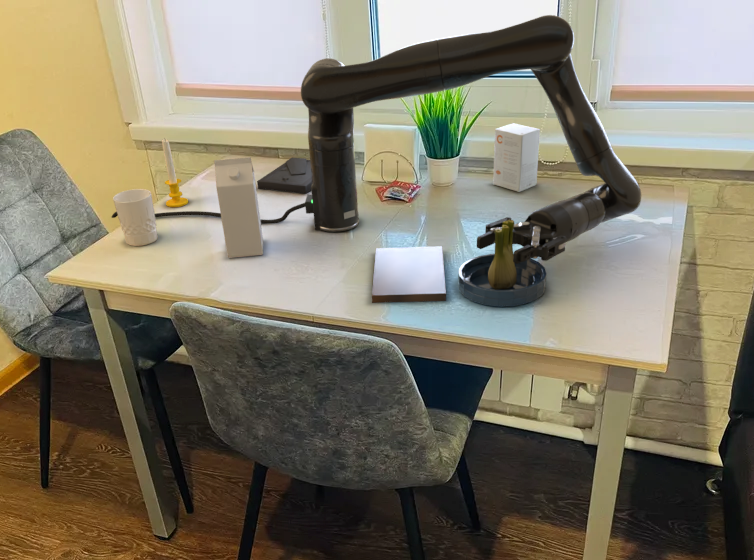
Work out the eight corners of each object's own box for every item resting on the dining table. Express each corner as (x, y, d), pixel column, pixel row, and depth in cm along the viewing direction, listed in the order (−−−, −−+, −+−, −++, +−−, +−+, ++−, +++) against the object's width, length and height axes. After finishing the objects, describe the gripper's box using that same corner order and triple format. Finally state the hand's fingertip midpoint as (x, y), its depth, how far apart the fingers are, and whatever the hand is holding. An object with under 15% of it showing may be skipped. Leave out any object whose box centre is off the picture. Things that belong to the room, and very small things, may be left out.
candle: (192, 201, 187) (180, 135, 178) (177, 208, 183) (164, 142, 174) (176, 198, 189) (164, 133, 180) (161, 205, 186) (148, 139, 177)
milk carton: (229, 244, 164) (215, 154, 153) (263, 241, 164) (251, 151, 153) (227, 258, 158) (212, 166, 147) (263, 255, 158) (250, 162, 147)
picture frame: (292, 165, 204) (257, 188, 191) (291, 157, 203) (256, 179, 190) (338, 169, 199) (306, 193, 186) (337, 161, 198) (305, 184, 185)
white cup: (167, 235, 170) (158, 190, 165) (145, 249, 164) (135, 204, 159) (138, 230, 173) (128, 187, 168) (116, 245, 167) (104, 200, 162)
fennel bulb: (496, 295, 137) (499, 231, 130) (479, 285, 141) (481, 222, 134) (523, 287, 139) (527, 223, 132) (506, 277, 143) (509, 214, 136)
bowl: (460, 309, 134) (461, 292, 133) (456, 270, 147) (456, 254, 145) (550, 306, 133) (552, 290, 131) (538, 268, 146) (539, 252, 144)
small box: (537, 185, 181) (541, 128, 174) (518, 192, 178) (522, 135, 171) (510, 177, 187) (513, 122, 179) (492, 184, 183) (494, 128, 176)
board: (372, 302, 138) (371, 295, 137) (376, 255, 155) (375, 248, 154) (446, 301, 137) (446, 293, 136) (442, 253, 154) (442, 246, 153)
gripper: (528, 194, 146) (466, 219, 138) (591, 214, 136) (529, 242, 128) (526, 232, 150) (466, 258, 142) (587, 254, 140) (526, 283, 132)
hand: (496, 250), depth 135 cm, fingers open, 8 cm apart
